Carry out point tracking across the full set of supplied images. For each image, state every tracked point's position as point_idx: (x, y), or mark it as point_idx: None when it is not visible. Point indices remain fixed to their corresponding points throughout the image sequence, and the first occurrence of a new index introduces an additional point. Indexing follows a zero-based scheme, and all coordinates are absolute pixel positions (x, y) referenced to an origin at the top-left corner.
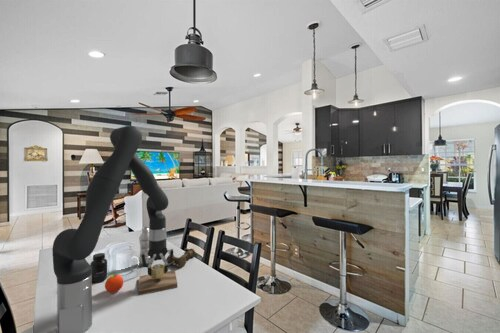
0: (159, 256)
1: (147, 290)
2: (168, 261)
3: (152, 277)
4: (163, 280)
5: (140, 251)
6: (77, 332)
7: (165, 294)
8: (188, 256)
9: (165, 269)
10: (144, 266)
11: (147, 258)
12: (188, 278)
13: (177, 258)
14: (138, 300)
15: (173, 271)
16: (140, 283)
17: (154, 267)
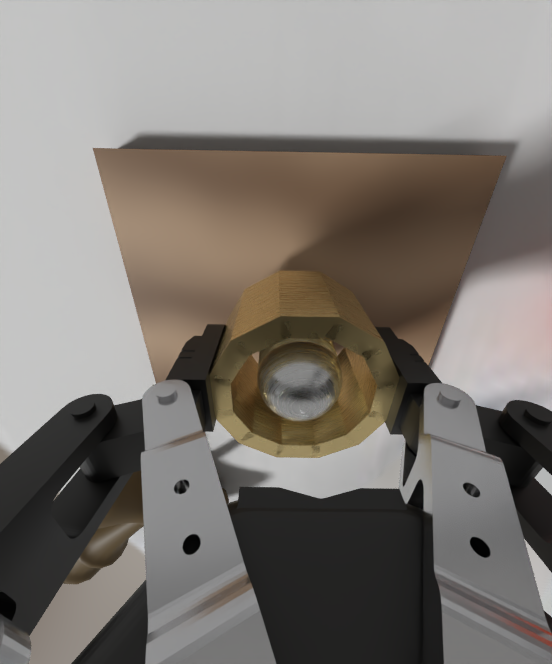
0: (288, 603)
1: (405, 155)
2: (123, 434)
3: (355, 298)
4: (246, 284)
5: None
6: None
7: (226, 16)
8: None
9: (206, 345)
10: (538, 410)
11: None
12: (41, 282)
13: (142, 517)
14: (516, 8)
15: None
16: (436, 307)
17: (335, 419)
